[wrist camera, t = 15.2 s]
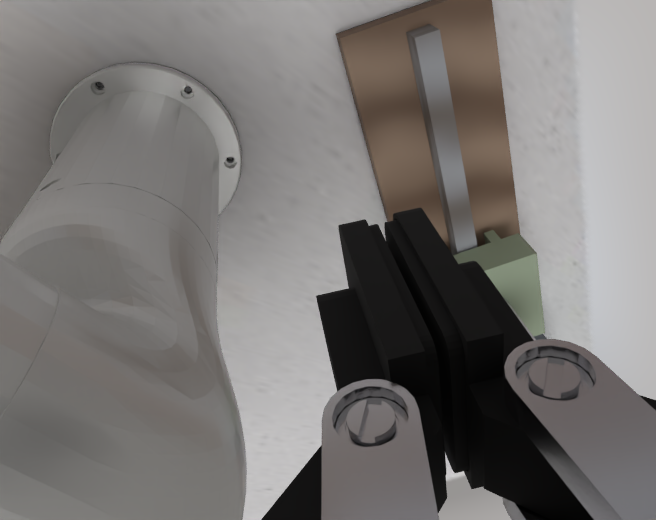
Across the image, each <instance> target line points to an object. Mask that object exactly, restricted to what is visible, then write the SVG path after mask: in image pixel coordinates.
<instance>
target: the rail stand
mask: <svg viewBox="0 0 656 520" xmlns="http://www.w3.org/2000/svg"><path fill="white" fill-rule="evenodd" d="M336 36H337V40H338V43H339V47H340V51H341V54H342V58H343V61H344V65H345V69H346V72H347V76H348V80H349V83H350V87H351V91H352V94H353V98H354V101H355V105H356V109H357V112H358V116H359V120H360V123H361V127H362V131H363V134H364V138H365V141H366V145H367V149H368V152H369V156H370V160H371V163H372V167H373V171H374V174H375V178H376V181H377V185H378V189H379V192H380V196H381V200H382V203H383V207H384V211H385V214H386V218H387V221H388V222H389V221H393V214H394V213H397V212H401V211H406V210H411V209H415V208H422V209H423V211H424V212H425V214H426V215H427V217H428V218H429V220H430V221H431V223H432V224H433V226H434V227H435V229H436V230H437V232H438V233H439V235H440V236H441V238H442V240H443V241H444V243H445V244H446V246H447V247H448V249H449V250H450V252H451V253H452V255H456V254H459V253H462V252H464V251H467V250H470V249H473V248H476V247H479V246H482V245H485V239H484V233H485V232H488V231H491V230H494V231H495V233H496V234H497V235H498V236H499V237H500V238H501V239H503V238H506V237H509V236H512V235H514V234H517V233H519V234H520V230H519V221H518V213H517V205H516V197H515V189H514V180H513V172H512V164H511V156H510V147H509V139H508V131H507V123H506V114H505V106H504V98H503V90H502V81H501V73H500V65H499V57H498V48H497V40H496V32H495V24H494V15H493V7H492V0H431V1H428V2H425V3H422V4H420V5H417V6H414V7H411V8H408V9H405V10H403V11H400V12H397V13H394V14H391V15H388V16H386V17H383V18H380V19H377V20H374V21H371V22H369V23H366V24H363V25H360V26H357V27H354V28H352V29H349V30H346V31H343V32H340V33H337V34H336ZM534 338H535V339H536V340H539V339H546V337H545V336H544V335H543V334H540V335H537V336H534Z"/></svg>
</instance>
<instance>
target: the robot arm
mask: <svg viewBox="0 0 656 520" xmlns="http://www.w3.org/2000/svg"><path fill="white" fill-rule="evenodd" d="M97 82H101V83H102V84H103V85H104V88H99V87H97V85H96V83H97ZM186 86H189V87H191V88H192V91H191V92H189V93H188V92H186V91H185V90H184V88H185V87H186ZM50 156H51V161H52V167H51V168H50V170H49V171H48V173H47V174H46V176H45V177H44V179H43V180H42V182H41V183H40V185H39V186H38V188H37V189H36V191H35V192H34V194H33V195H32V197H31V198H30V200H29V201H28V202H27V204H26V205H25V207H24V208H23V210H22V211H21V213H20V214H19V216H18V217H17V218H16V219H15V221H14V222H13V223H12V225H11V226H10V228H9V229H8V231H7V232H6V234H5V236H4V237H3V239H2V240H1V242H0V520H242V519H243V511H244V503H245V496H246V475H247V466H246V451H245V442H244V435H243V429H242V424H241V418H240V413H239V409H238V405H237V401H236V398H235V394H234V391H233V387H232V384H231V380H230V377H229V374H228V370H227V367H226V364H225V360H224V357H223V353H222V349H221V345H220V340H219V334H218V325H217V297H216V295H217V266H218V265H217V264H218V216H219V215H220V214H221V213H222V212H223V210H224V209H225V208H226V207H227V205H228V204H229V203H230V201H231V199H232V197H233V195H234V193H235V191H236V190H237V186H238V183H239V179H240V175H241V163H242V156H241V145H240V141H239V137H238V133H237V130H236V127H235V125H234V123H233V121H232V119H231V117H230V115H229V113H228V112H227V110H226V109H225V108H224V106H223V105H222V103H221V102H220V100H219V99H218V98H217V97H216V96H215V95H214V94H212V93H211V92H210V91H209V90H208V89H207V88H206V87H205V86H204V85H202V84H201V83H199V82H198V81H196V80H195V79H193V78H192V77H190V76H188V75H186V74H184V73H182V72H179V71H177V70H175V69H173V68H169V67H165V66H161V65H157V64H153V63H135V62H133V63H125V64H118V65H113V66H110V67H107V68H104V69H101V70H99V71H96V72H95V73H93V74H91V75H90V76H88V77H86V78H85V79H83V80H82V81H80V82H79V83H78V84H77V85H76V86H75V87H74V88H73V89H72V90H71V91H70V92H69V93H68V95H67V96H66V97H65V99H64V100H63V101H62V103H61V104H60V106H59V108H58V110H57V112H56V114H55V117H54V119H53V122H52V127H51V132H50ZM227 157H233V158H234V160H232V161H228V160H227ZM339 234H340V240H341V245H342V251H343V257H344V263H345V268H346V274H347V280H348V286H349V289H344V290H340V291H335V292H331V293H327V294H322V295H318V296H316V297H317V302H318V307H319V311H320V316H321V321H322V325H323V330H324V334H325V339H326V344H327V348H328V352H329V357H330V361H331V366H332V370H333V374H334V379H335V383H336V387H337V393H335V394H334V395H333V396H332V397H331V398H330V400H329V401H328V403H327V405H326V406H325V408H324V412H323V417H322V445H321V447H320V448H319V449H318V450H317V452H316V453H315V454H314V455H313V456H312V458H311V459H310V460H309V461H308V463H307V464H306V465H305V466H304V468H303V469H302V470H301V471H300V473H299V474H298V475H297V476H296V478H295V479H294V480H293V481H292V482H291V484H290V485H289V486H288V487H287V489H286V490H285V491H284V492H283V494H282V495H281V496H280V497H279V499H278V500H277V501H276V502H275V504H274V505H273V506H272V507H271V508H270V510H269V511H268V512H267V513H266V515H265V516H264V517H263V518H262V520H439V516H438V513H439V511H440V509H441V507H442V506H443V504H444V502H445V500H446V499H447V491H446V477H445V475H446V462H445V453H446V455H447V458H448V460H449V463H450V465H451V467H452V470H453V471H454V472H455V473H458V472H462V471H464V472H465V475H466V477H467V479H468V482H469V484H470V486H471V489H474V488H479V487H484V489H486V490H488V491H490V492H492V493H495V494H497V495H499V496H501V497H503V504H504V506H505V508H506V511H507V513H508V515H509V516H510V518H511V519H512V520H656V400H653V399H650V398H647V397H643V396H640V395H638V394H637V393H636V392H635V391H633V389H631V388H630V387H629V386H628V385H627V384H626V383H625V382H624V381H623V380H622V379H621V378H619V377H618V376H617V375H616V374H615V373H614V372H613V371H612V370H611V369H610V368H608V367H607V366H606V365H605V364H604V363H603V362H602V361H601V360H600V359H599V358H597V357H596V356H595V355H594V354H592V353H591V352H589V351H588V350H586V349H585V348H583V347H581V346H578V345H576V344H573V343H571V342H566V341H561V340H556V339H539V340H535V341H534V340H533V339H532V337H531V336H530V334H529V333H528V332H527V330H526V329H525V327H524V326H523V325H522V323H521V322H520V320H519V319H518V318H517V316H516V315H515V313H514V312H513V311H512V309H511V308H510V306H509V305H508V304H507V302H506V301H505V299H504V298H503V297H502V295H501V294H500V292H499V291H498V290H497V288H496V287H495V285H494V284H493V283H492V281H491V280H490V278H489V277H488V276H487V274H486V273H485V271H484V270H483V269H482V267H481V266H480V265H479V264H478V263H477V262H476V261H469V262H465V263H460V264H458V262H457V261H456V259H455V258H454V256H453V255H452V253H451V252H450V250H449V249H448V247H447V246H446V244H445V243H444V241H443V240H442V238H441V236H440V235H439V233H438V232H437V230H436V229H435V227H434V226H433V224H432V223H431V221H430V220H429V218H428V217H427V215H426V214H425V212H424V211H423V209H422V208H415V209H411V210H406V211H401V212H397V213H394V214H393V221H389V222H385V235H386V241H385V239H384V237H383V234H382V232H381V230H380V228H379V226H378V225H377V224H375V225H371V226H368V223H367V221H366V220H360V221H356V222H351V223H347V224H342V225H339Z"/></svg>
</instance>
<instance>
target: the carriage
mask: <svg viewBox="0 0 656 520" xmlns="http://www.w3.org/2000/svg"><path fill="white" fill-rule="evenodd" d="M484 239H485V245H482V246H479V247H476V248H473V249H470V250H467V251H464V252H462V253H459V254H456V255H453V256H454V258H455V259H456V261H457V262H458V264H460V263H465V262H469V261H476V262H477V263H478V264H479V265H480V266H481V267H482V269H483V270H484V271H485V273H486V274H487V276H488V277H489V278H490V280H491V281H492V283H493V284H494V285H495V287H496V288H497V290H498V291H499V292H500V294H501V295H502V297H503V298H504V299H505V301H506V302H507V304H508V305H509V306H510V308H511V309H512V311H513V312H514V313H515V315H516V316H517V318H518V319H519V320H520V322H521V323H522V325H523V326H524V327H525V329H526V330H527V332H528V333H529V334H530V336H531V337H532V339H533V340H534V341H535V340H536V339H535V338H534V336H537V335H540V334H543V333H545V328H544V319H543V309H542V299H541V290H540V280H539V270H538V261H537V253H536V252H535V251H534V250H533V249H532V247H531V246H530V245H529V244H528V243H527V242H526V241H525V240H524V239H523V238H522V237H521V235H520V234H519V233H517V234H514V235H512V236H509V237H506V238H503V239H501V238H500V237H499V236H498V235H497V234H496V233H495V231H494V230H491V231H488V232H485V233H484Z"/></svg>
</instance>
